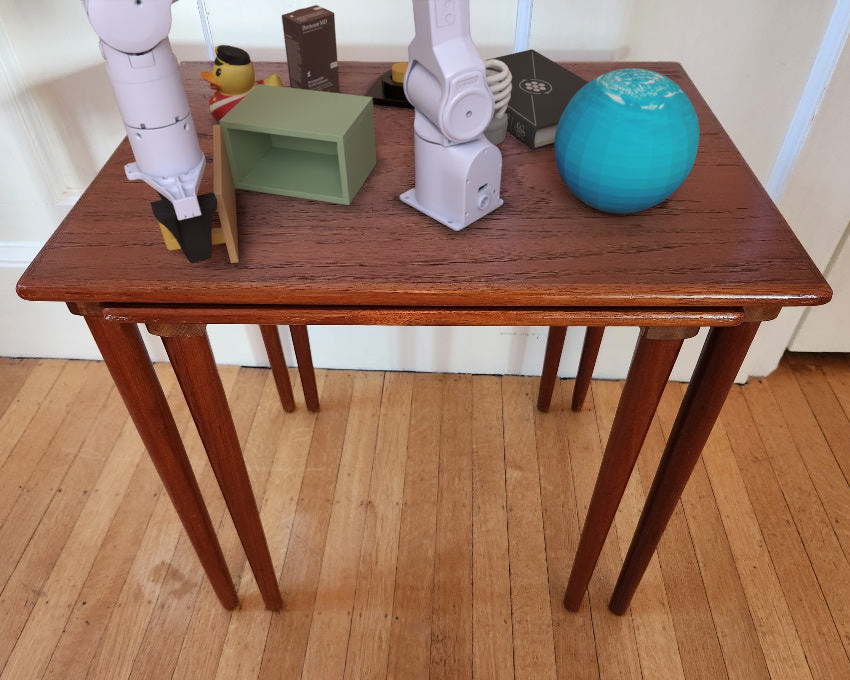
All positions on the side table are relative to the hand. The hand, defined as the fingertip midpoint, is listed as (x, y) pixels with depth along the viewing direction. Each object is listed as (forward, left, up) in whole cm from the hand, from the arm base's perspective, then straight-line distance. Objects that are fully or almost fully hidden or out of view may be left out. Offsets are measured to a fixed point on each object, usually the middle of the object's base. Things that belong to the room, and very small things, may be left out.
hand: (194, 242), depth 69 cm
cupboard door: (+5, -4, -3) cm, 7 cm away
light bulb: (-5, -38, -3) cm, 38 cm away
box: (+23, -33, -3) cm, 40 cm away
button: (+15, -43, -1) cm, 45 cm away
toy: (+25, -23, -3) cm, 34 cm away
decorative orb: (-23, -40, -3) cm, 46 cm away
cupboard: (+7, -19, -3) cm, 20 cm away
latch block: (+15, -43, -3) cm, 45 cm away
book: (-1, -53, -3) cm, 53 cm away
